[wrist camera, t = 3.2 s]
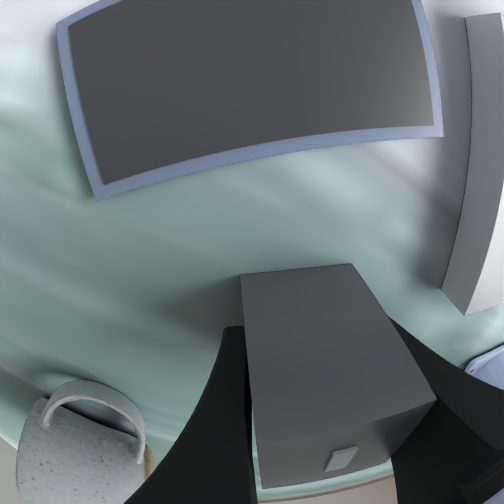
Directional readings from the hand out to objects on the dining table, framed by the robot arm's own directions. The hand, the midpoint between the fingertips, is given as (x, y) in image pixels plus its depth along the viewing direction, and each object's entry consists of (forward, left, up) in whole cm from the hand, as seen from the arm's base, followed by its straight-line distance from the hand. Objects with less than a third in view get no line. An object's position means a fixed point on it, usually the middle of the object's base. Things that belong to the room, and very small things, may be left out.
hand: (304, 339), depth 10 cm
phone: (+9, +1, -2) cm, 9 cm away
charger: (0, 0, -1) cm, 1 cm away
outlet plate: (+6, -13, -1) cm, 14 cm away
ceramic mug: (-8, +13, -2) cm, 15 cm away
